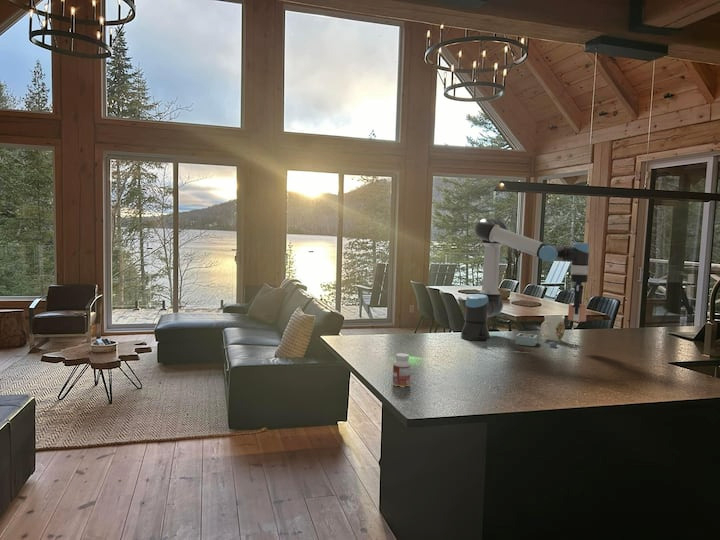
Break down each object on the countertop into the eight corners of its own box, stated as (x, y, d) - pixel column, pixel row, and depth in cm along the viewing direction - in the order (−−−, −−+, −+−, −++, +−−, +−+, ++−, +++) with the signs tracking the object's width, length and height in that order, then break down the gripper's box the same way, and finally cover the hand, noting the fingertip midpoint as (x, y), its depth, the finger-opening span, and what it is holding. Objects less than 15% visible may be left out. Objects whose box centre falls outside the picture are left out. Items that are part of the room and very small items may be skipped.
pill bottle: (391, 382, 190) (392, 352, 190) (408, 383, 191) (409, 352, 190) (394, 387, 184) (395, 356, 184) (411, 387, 185) (412, 356, 184)
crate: (515, 345, 268) (515, 335, 267) (518, 342, 276) (519, 333, 275) (534, 347, 263) (534, 337, 263) (537, 344, 272) (537, 335, 271)
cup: (567, 320, 259) (568, 304, 259) (569, 318, 266) (569, 302, 266) (585, 322, 256) (586, 305, 255) (586, 319, 263) (587, 304, 262)
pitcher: (532, 340, 283) (533, 315, 282) (554, 338, 292) (555, 313, 291) (549, 344, 273) (550, 318, 273) (571, 341, 283) (572, 316, 282)
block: (522, 344, 268) (523, 336, 268) (521, 342, 272) (522, 334, 272) (530, 344, 267) (531, 336, 267) (530, 343, 271) (530, 335, 271)
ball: (548, 348, 262) (549, 342, 262) (549, 347, 265) (550, 341, 265) (556, 349, 261) (556, 342, 260) (556, 348, 264) (557, 341, 263)
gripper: (586, 275, 249) (583, 323, 250) (589, 273, 267) (586, 317, 268) (569, 274, 252) (566, 321, 253) (573, 272, 271) (570, 316, 272)
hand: (576, 319), depth 261 cm, fingers closed on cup, 8 cm apart
